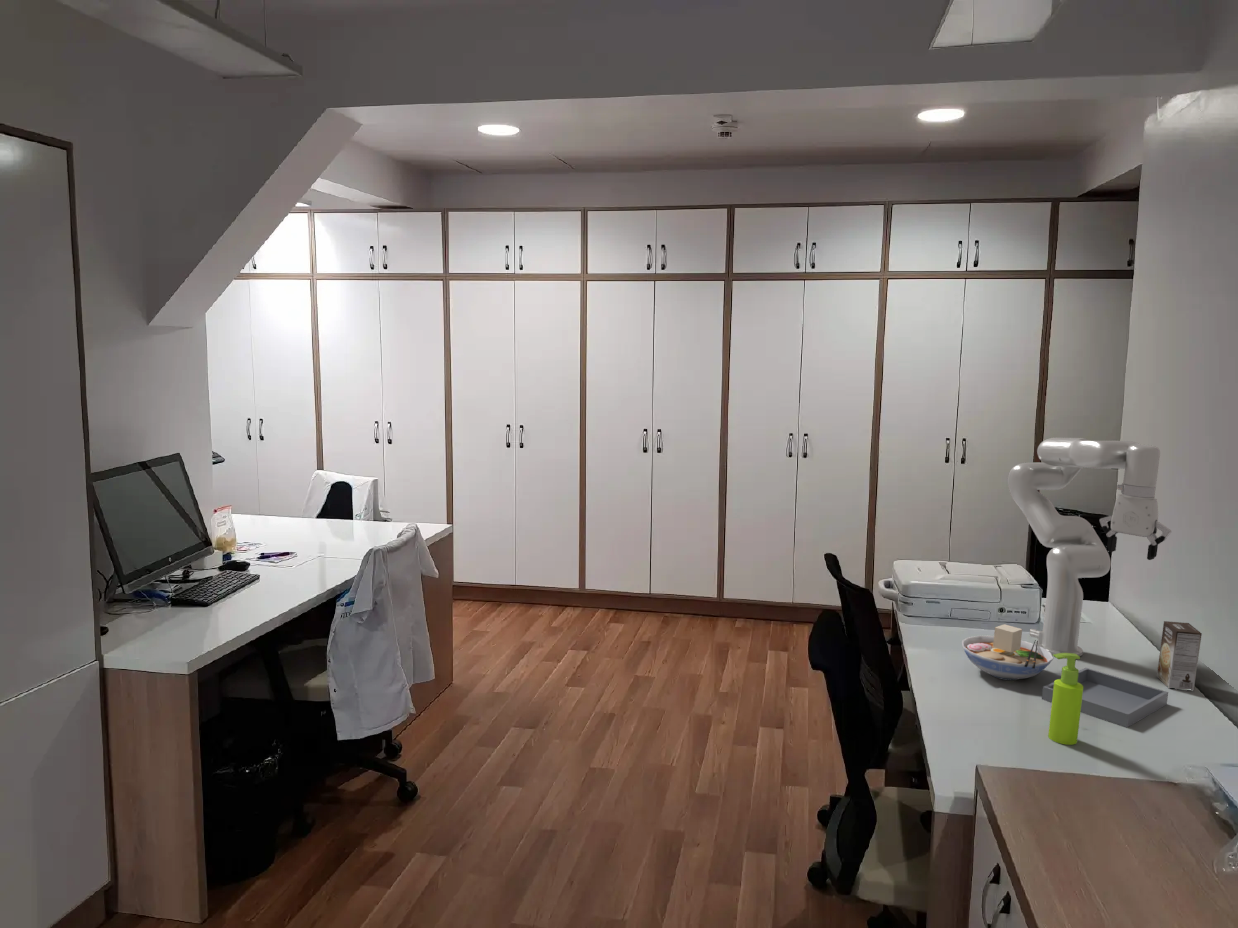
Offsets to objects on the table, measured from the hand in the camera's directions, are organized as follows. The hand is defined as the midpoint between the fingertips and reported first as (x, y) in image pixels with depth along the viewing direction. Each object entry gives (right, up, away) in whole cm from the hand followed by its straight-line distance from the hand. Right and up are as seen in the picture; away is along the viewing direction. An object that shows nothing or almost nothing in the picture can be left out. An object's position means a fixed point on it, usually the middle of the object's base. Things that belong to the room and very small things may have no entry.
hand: (1130, 555), depth 238 cm
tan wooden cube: (-32, -25, +3) cm, 41 cm away
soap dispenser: (-36, -38, -35) cm, 63 cm away
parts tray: (-15, -36, -14) cm, 41 cm away
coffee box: (+13, -35, +3) cm, 38 cm away
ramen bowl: (-32, -33, +4) cm, 46 cm away
